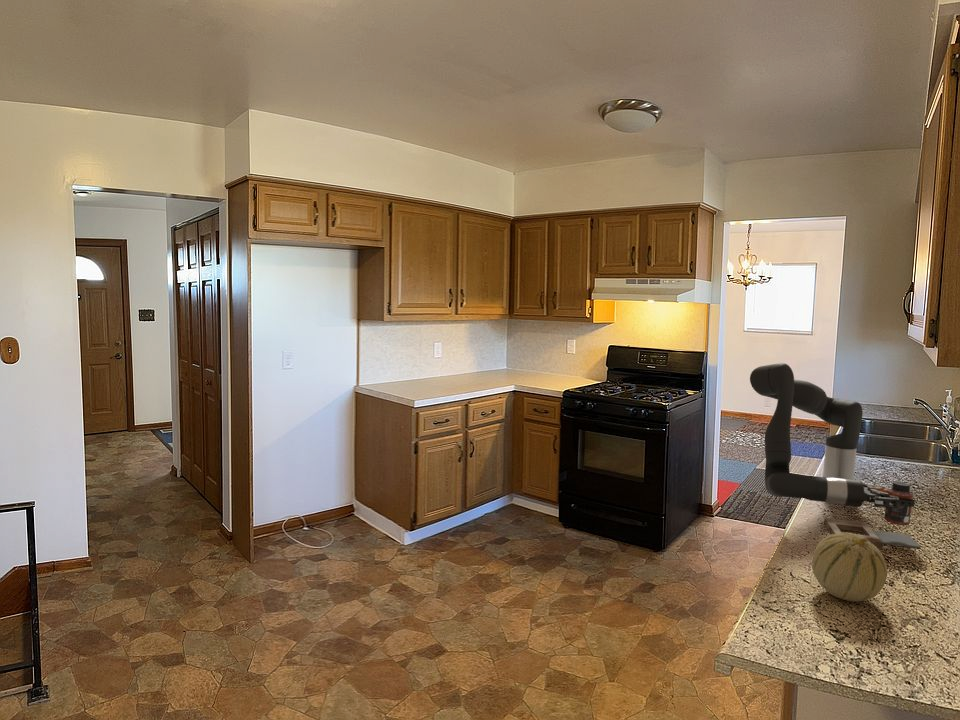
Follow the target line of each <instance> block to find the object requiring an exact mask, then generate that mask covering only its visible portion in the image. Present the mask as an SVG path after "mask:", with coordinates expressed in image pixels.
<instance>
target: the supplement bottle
mask: <svg viewBox="0 0 960 720" xmlns="http://www.w3.org/2000/svg"><path fill="white" fill-rule="evenodd" d="M910 486H911V485H910V484H909V483H908V482H905V481H904V482H903V481H893V482H892V487H891V488H888V489H889V490H888V493H889V494H890V495H891V496H897V497H903V498H912V499H914V495H913V493H912V492H911V491H910V489H911V488H910ZM890 502H891V503H893V501H890ZM911 513H912V507H907V506H899V505H898V508H889V507H885V511H884V521H886V522H887V523H889V524H892V525H897V526H908V525H910V521H911V515H912V514H911Z"/></svg>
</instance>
